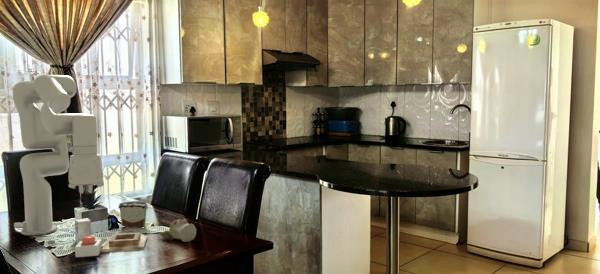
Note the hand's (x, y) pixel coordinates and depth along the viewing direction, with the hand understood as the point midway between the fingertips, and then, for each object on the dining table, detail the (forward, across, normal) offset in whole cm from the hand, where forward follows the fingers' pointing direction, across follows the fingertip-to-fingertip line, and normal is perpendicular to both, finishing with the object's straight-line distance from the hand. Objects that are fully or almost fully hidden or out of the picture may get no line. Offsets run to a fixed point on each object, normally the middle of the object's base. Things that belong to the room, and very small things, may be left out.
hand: (87, 204), depth 160 cm
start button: (+14, 0, 0) cm, 14 cm away
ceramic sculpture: (+18, +30, +10) cm, 37 cm away
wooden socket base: (+17, +11, +7) cm, 22 cm away
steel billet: (+17, -5, +16) cm, 24 cm away
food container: (+17, +12, +34) cm, 40 cm away
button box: (+17, 0, 0) cm, 17 cm away
